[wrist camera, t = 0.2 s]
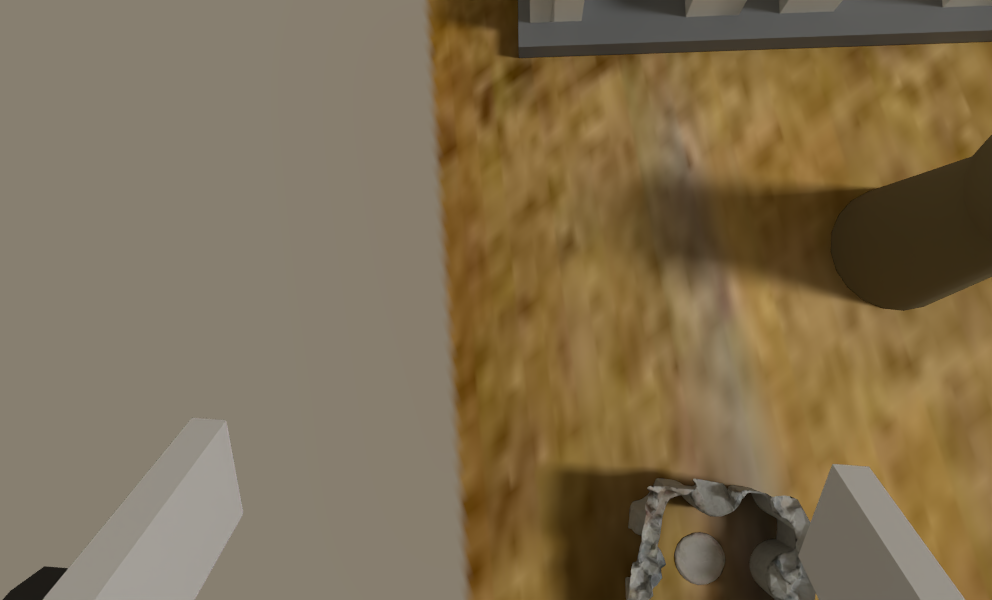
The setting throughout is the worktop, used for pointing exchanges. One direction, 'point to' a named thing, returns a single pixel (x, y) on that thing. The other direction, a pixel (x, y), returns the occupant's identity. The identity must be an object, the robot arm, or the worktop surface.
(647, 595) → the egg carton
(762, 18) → the socket board
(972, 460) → the worktop surface
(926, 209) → the cork
